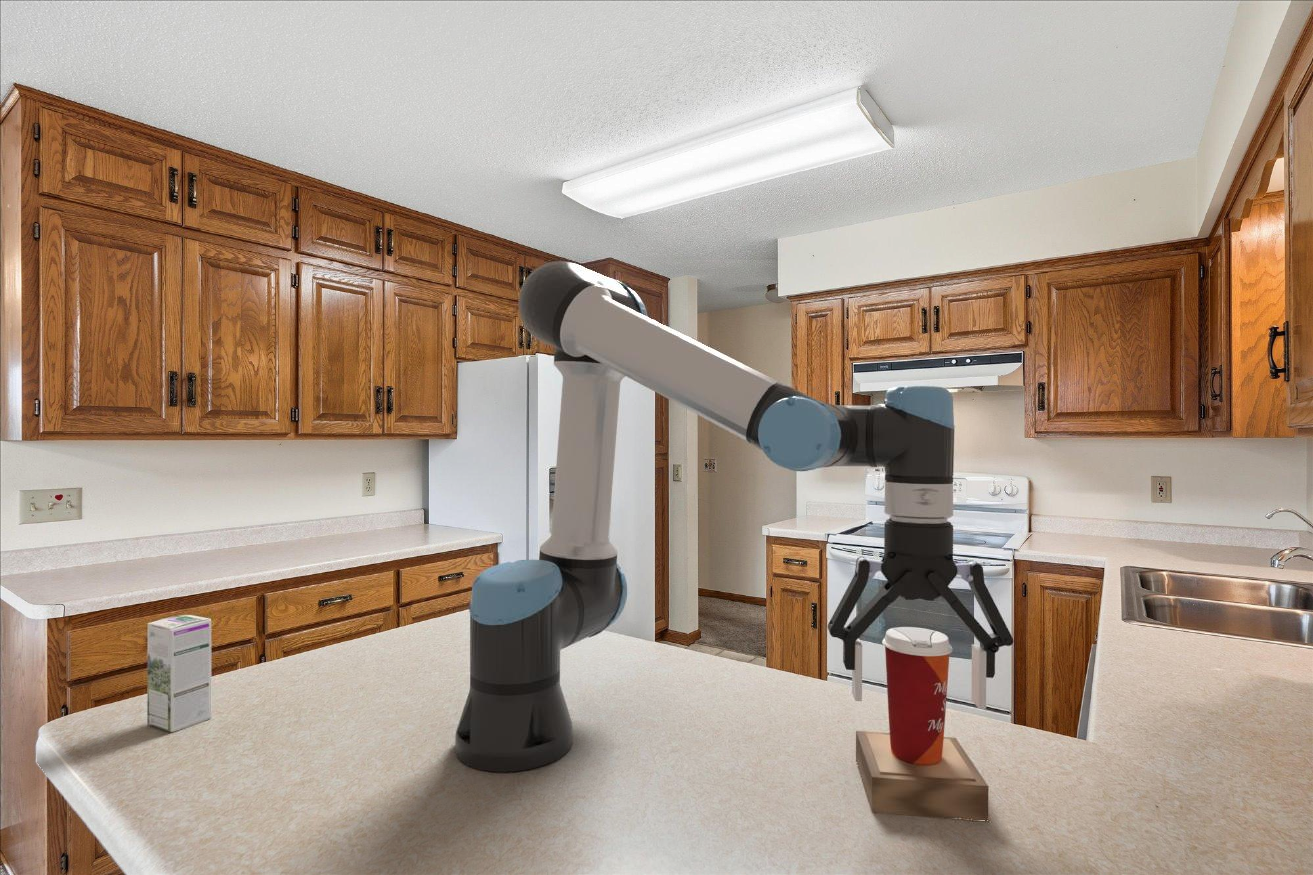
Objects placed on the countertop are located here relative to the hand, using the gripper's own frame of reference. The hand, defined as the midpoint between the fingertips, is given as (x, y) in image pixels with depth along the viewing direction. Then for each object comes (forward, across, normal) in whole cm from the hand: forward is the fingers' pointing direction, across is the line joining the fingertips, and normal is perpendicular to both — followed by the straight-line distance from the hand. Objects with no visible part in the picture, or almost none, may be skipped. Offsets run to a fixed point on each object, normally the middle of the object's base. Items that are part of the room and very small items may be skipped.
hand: (916, 701), depth 79 cm
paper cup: (+6, 0, 0) cm, 6 cm away
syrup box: (+10, -99, +2) cm, 100 cm away
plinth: (+10, 0, 0) cm, 10 cm away
